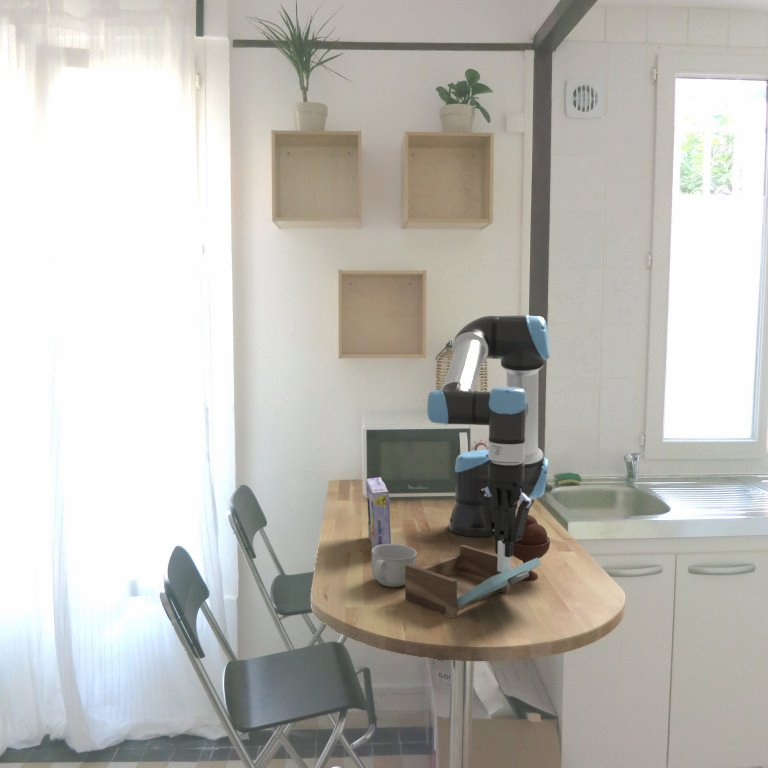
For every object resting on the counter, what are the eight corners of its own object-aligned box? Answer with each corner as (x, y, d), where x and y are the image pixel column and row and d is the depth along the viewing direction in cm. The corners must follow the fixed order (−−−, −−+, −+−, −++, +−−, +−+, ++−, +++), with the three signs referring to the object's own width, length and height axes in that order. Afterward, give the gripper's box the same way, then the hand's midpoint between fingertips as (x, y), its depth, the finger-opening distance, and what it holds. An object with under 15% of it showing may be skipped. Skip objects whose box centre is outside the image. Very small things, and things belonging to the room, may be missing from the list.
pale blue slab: (502, 579, 164) (537, 557, 156) (508, 590, 163) (544, 568, 155) (454, 600, 152) (490, 577, 145) (460, 612, 151) (497, 590, 144)
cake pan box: (366, 536, 207) (365, 476, 205) (383, 535, 208) (383, 475, 206) (373, 558, 188) (372, 492, 186) (392, 557, 189) (391, 492, 187)
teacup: (390, 571, 179) (390, 539, 178) (425, 581, 172) (425, 548, 171) (353, 587, 168) (353, 554, 167) (389, 599, 161) (389, 564, 161)
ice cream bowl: (495, 577, 174) (495, 516, 173) (521, 565, 182) (522, 507, 181) (532, 588, 167) (533, 526, 165) (558, 576, 175) (559, 516, 173)
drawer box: (462, 576, 175) (462, 544, 174) (509, 592, 165) (510, 558, 164) (405, 599, 161) (405, 565, 160) (453, 618, 151) (453, 581, 150)
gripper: (470, 459, 152) (469, 566, 155) (521, 469, 143) (518, 583, 145) (492, 454, 157) (490, 558, 160) (542, 463, 148) (539, 573, 151)
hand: (503, 570), depth 153 cm, fingers closed
